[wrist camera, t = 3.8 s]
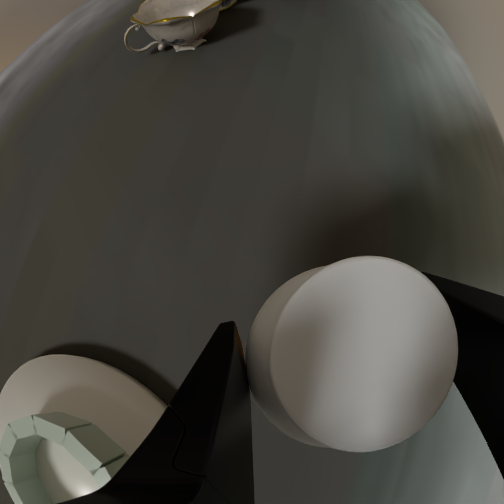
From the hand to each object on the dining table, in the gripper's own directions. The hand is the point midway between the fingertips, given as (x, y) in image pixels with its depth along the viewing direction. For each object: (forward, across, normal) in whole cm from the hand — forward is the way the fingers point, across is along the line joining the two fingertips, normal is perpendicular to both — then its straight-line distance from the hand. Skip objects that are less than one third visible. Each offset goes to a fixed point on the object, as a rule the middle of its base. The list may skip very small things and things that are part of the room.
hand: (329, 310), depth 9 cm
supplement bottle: (+4, 0, +6) cm, 7 cm away
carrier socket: (0, +14, +10) cm, 17 cm away
